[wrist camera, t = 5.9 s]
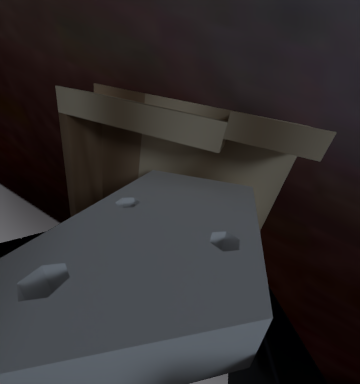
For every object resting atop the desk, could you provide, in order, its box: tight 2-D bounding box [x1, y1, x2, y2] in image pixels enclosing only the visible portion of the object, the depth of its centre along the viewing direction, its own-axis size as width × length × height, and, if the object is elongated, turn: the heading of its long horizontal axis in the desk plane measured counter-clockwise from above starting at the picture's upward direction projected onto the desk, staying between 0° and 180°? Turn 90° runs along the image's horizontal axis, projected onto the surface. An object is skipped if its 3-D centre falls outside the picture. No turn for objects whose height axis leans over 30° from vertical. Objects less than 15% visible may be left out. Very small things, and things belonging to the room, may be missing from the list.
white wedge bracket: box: [0, 170, 273, 384], centre depth 7 cm, size 4×10×9 cm, turn 86°
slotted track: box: [55, 83, 337, 230], centre depth 11 cm, size 12×11×4 cm
